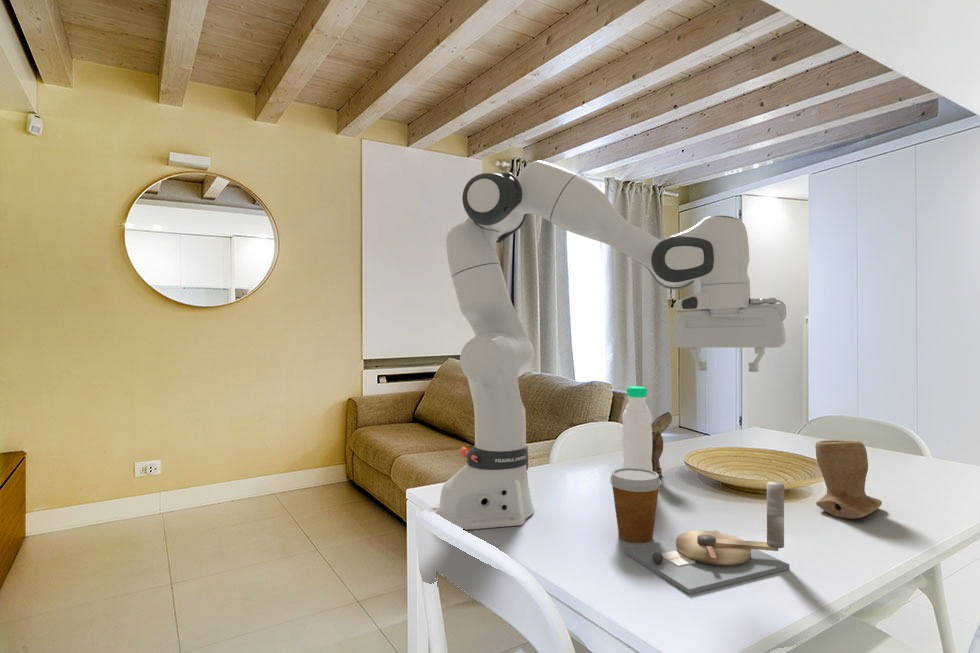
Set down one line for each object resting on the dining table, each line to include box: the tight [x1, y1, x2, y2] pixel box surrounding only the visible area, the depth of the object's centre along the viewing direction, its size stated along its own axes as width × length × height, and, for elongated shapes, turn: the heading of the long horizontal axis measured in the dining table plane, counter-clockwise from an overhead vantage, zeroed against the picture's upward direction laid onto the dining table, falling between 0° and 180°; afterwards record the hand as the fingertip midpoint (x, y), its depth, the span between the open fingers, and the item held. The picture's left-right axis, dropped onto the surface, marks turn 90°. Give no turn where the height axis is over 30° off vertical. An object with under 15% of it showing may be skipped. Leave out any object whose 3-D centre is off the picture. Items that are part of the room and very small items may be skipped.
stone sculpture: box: [651, 411, 673, 478], centre depth 145 cm, size 9×14×18 cm, turn 27°
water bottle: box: [621, 385, 653, 471], centre depth 133 cm, size 7×7×25 cm
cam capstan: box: [675, 481, 785, 565], centre depth 94 cm, size 17×13×12 cm
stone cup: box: [815, 439, 883, 520], centre depth 119 cm, size 15×12×15 cm
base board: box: [624, 529, 790, 595], centre depth 94 cm, size 21×16×3 cm
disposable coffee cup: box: [609, 467, 662, 543], centre depth 105 cm, size 10×10×12 cm
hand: (727, 371), depth 107 cm, fingers open, 8 cm apart
